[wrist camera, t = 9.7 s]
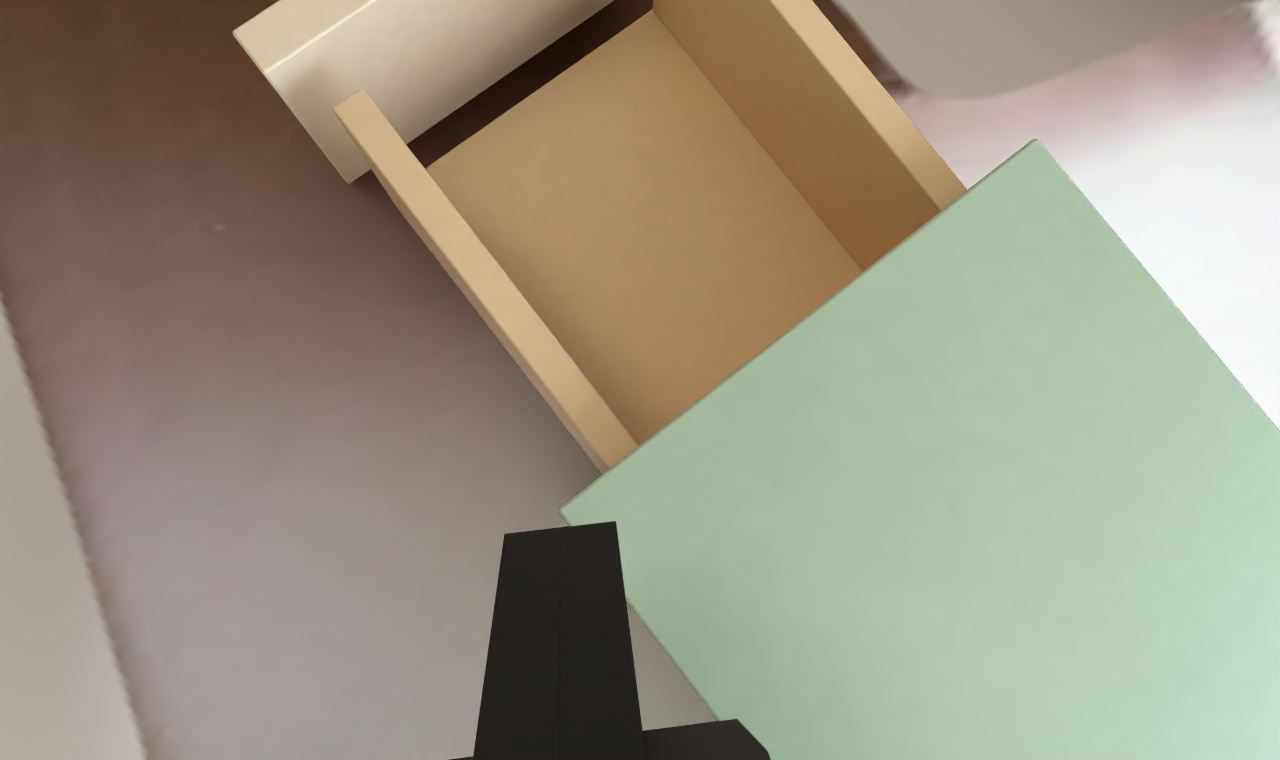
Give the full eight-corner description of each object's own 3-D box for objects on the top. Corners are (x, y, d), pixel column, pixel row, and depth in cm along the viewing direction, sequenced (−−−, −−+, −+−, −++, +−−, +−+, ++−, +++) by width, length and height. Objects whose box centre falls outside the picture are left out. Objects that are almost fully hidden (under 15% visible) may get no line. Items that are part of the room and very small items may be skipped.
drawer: (206, -1, 26) (71, -176, 19) (521, -204, 27) (500, -434, 20) (611, 528, 24) (621, 542, 18) (917, 286, 26) (1034, 214, 19)
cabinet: (566, 503, 25) (556, 509, 17) (894, 248, 27) (1037, 136, 18) (884, 921, 24) (1044, 1150, 16) (1204, 632, 26) (1505, 700, 18)
